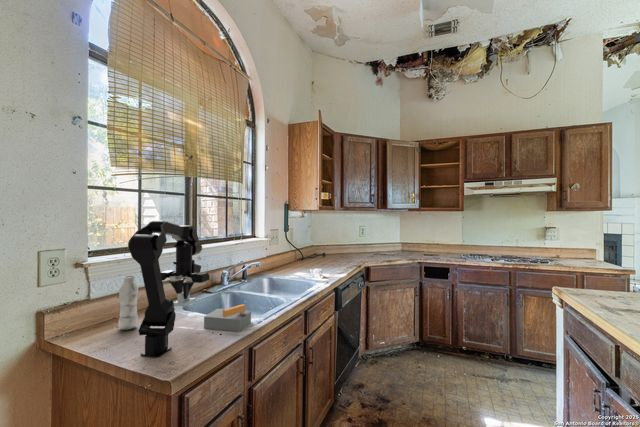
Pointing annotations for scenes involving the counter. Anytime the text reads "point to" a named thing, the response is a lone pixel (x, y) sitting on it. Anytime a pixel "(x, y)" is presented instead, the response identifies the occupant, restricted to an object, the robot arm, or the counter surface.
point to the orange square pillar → (234, 310)
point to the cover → (183, 300)
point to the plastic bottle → (128, 304)
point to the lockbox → (226, 321)
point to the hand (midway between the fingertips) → (183, 298)
